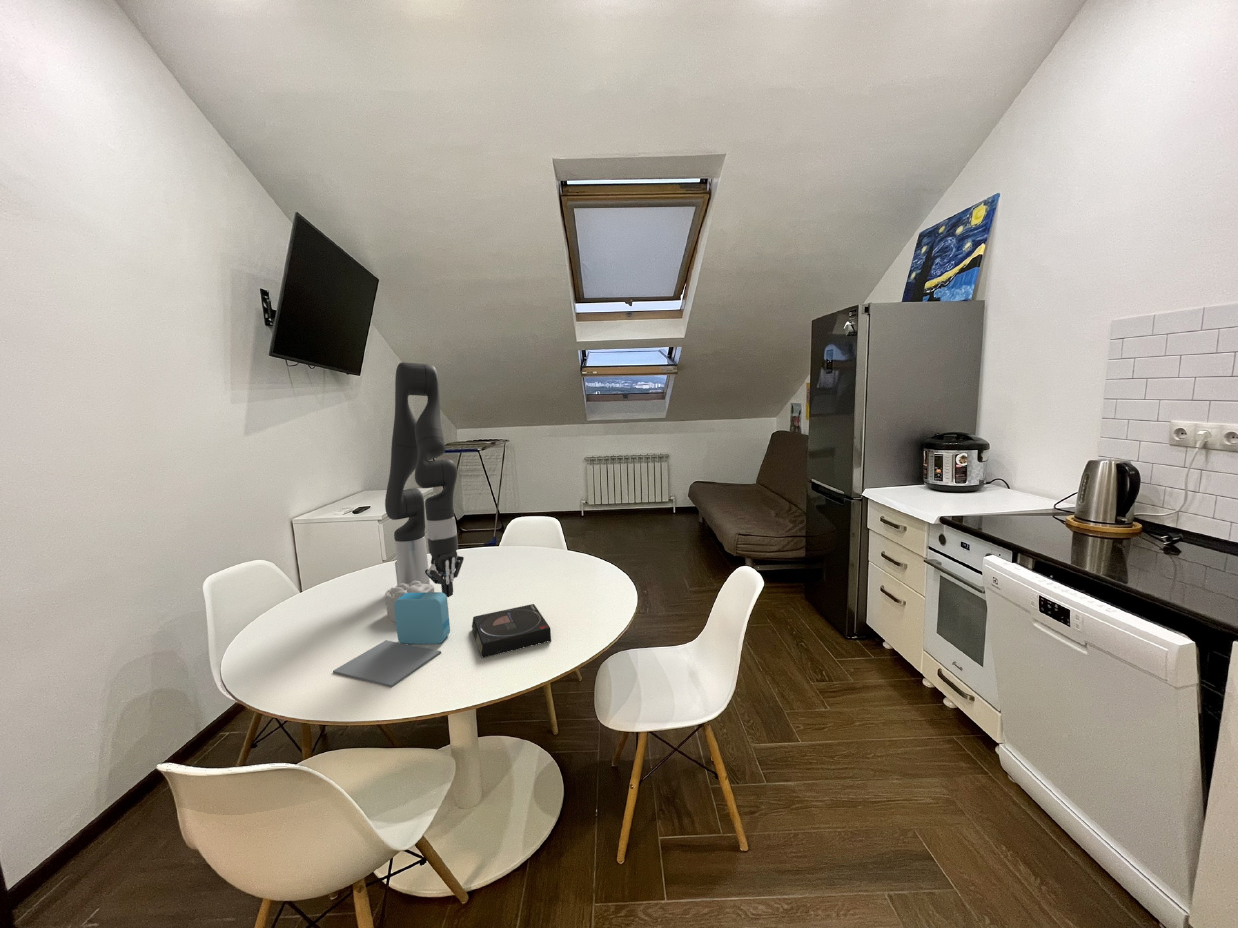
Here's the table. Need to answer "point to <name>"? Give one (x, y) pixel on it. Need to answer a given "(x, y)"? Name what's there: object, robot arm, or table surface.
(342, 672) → the mat
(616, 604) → the table surface
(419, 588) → the bumpy-topped grey block
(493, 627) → the portable cd player
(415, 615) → the data package
